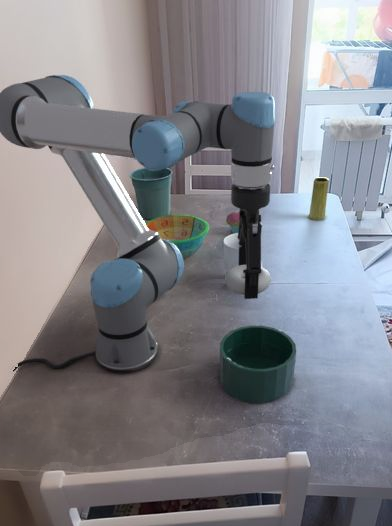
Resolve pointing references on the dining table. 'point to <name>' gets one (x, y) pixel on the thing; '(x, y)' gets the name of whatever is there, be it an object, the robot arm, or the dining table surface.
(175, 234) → the bowl
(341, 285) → the dining table surface
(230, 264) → the mug
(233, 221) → the cupcake
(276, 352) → the pot
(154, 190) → the flower pot
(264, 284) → the donut
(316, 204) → the vase
